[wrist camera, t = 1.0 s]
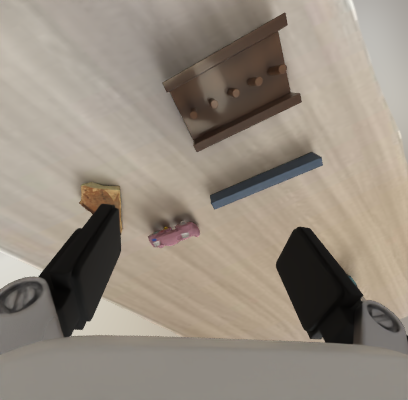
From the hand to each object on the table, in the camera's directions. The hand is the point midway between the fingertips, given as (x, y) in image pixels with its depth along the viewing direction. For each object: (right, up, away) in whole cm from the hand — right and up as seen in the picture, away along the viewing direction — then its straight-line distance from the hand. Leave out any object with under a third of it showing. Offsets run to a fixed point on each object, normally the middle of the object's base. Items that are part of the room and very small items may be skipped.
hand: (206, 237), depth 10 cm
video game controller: (-6, -4, +32) cm, 33 cm away
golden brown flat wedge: (-18, +2, +28) cm, 33 cm away
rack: (+4, +18, +19) cm, 27 cm away
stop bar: (+10, +6, +26) cm, 29 cm away
